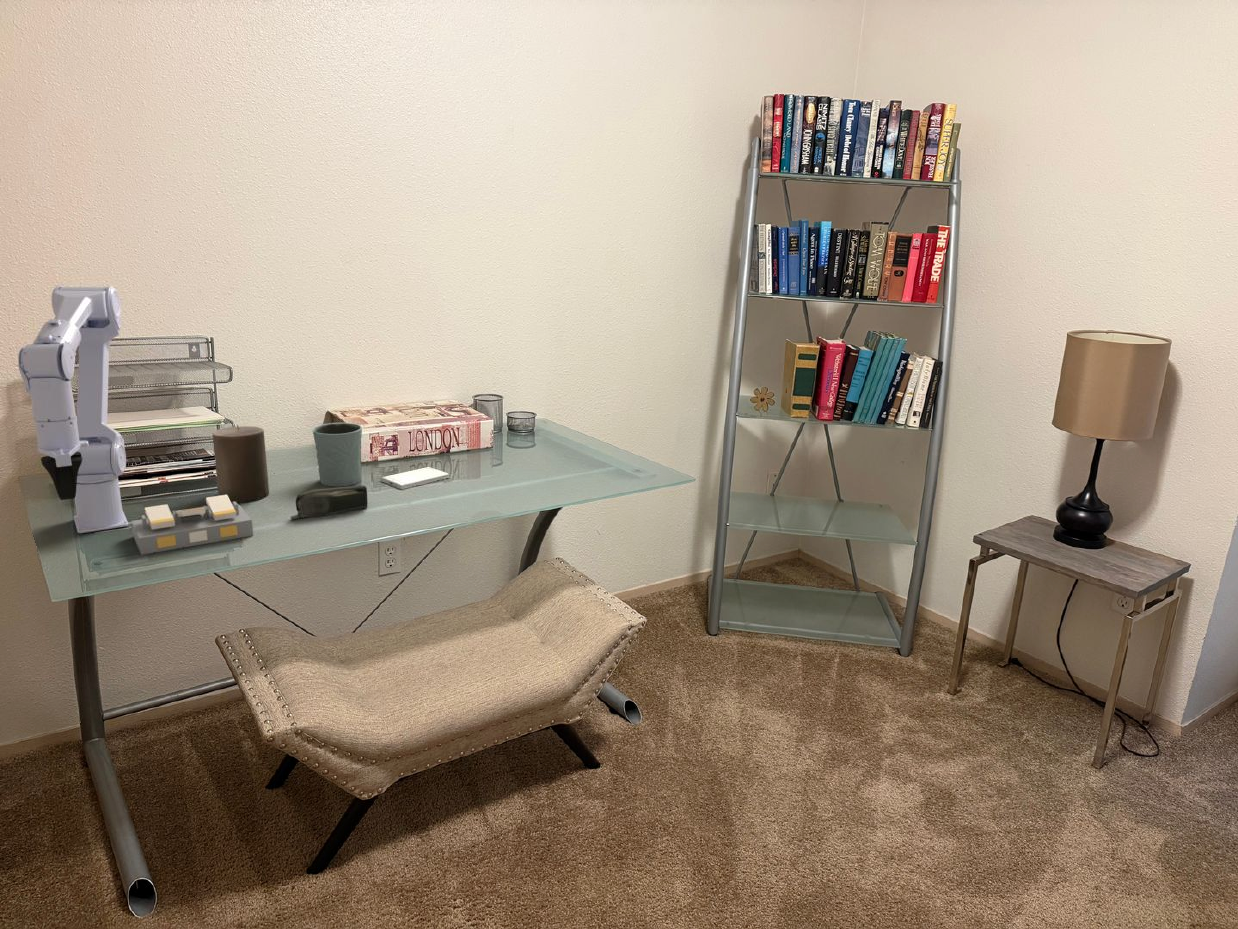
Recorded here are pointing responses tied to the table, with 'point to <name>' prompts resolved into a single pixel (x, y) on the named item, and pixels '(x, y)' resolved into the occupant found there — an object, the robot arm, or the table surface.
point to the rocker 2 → (191, 511)
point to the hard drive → (414, 477)
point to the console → (191, 531)
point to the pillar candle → (241, 463)
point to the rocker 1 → (159, 516)
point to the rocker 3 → (221, 507)
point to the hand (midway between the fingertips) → (67, 498)
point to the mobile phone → (330, 501)
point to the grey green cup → (338, 453)
